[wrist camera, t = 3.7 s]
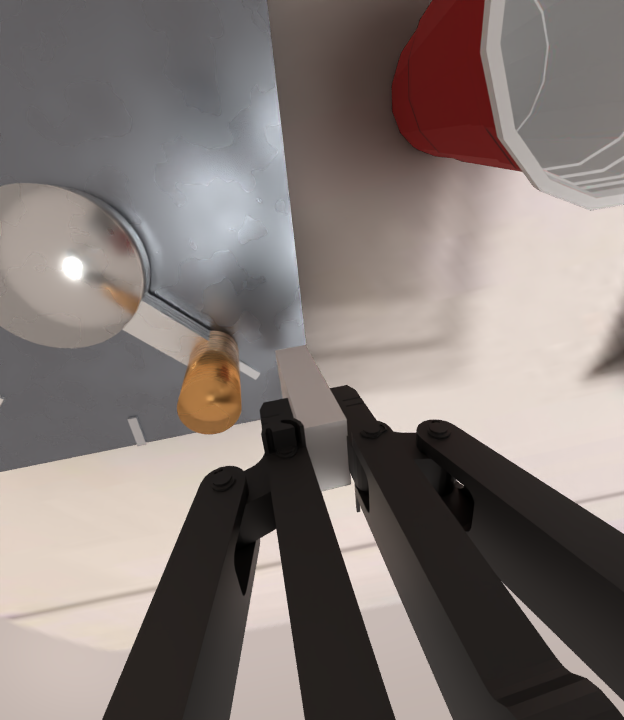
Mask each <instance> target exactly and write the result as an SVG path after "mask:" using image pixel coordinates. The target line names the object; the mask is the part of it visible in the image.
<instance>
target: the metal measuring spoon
mask: <svg viewBox="0 0 624 720" xmlns="http://www.w3.org/2000/svg"><path fill="white" fill-rule="evenodd" d="M149 286H150V265H149V261H148V256H147V254H146V251H145V248H144V246H143V244H142V242H141V240H140V238H139V236H138V235H137V233H136V232H135V230H134V229H133V228H132V226H131V225H130V224H129V223H128V222H127V220H126V219H125V218H124V217H123V216H122V215H121V214H119V213H118V212H117V211H116V210H115V209H113V208H112V207H111V206H110V205H108V204H107V203H105V202H103V201H102V200H100V199H99V198H96V197H94V196H92V195H90V194H88V193H86V192H83V191H80V190H77V189H73V188H69V187H64V186H54V185H45V184H35V183H15V184H9V185H3V186H0V326H1V327H2V328H4V329H5V330H7V331H9V332H11V333H13V334H14V335H16V336H18V337H21V338H23V339H25V340H28V341H30V342H34V343H37V344H40V345H44V346H49V347H56V348H82V347H87V346H92V345H96V344H98V343H101V342H104V341H106V340H108V339H110V338H112V337H113V336H114V335H116V334H117V333H119V332H120V331H121V330H124V331H126V332H127V333H129V334H131V335H133V336H135V337H136V338H138V339H140V340H142V341H144V342H145V343H147V344H149V345H151V346H152V347H154V348H156V349H158V350H160V351H161V352H163V353H165V354H167V355H169V356H170V357H172V358H174V359H176V360H177V361H179V362H181V363H183V364H185V365H186V366H187V369H186V373H185V377H184V381H183V384H182V388H181V392H180V396H179V399H178V403H177V413H178V416H179V418H180V420H181V421H182V423H183V424H184V425H185V426H186V427H188V428H189V429H191V430H192V431H195V432H197V433H201V434H217V433H220V432H223V431H225V430H227V429H229V428H230V427H232V426H233V425H234V424H235V423H236V422H237V420H238V419H239V417H240V414H241V408H242V405H241V386H240V366H239V349H238V345H237V343H236V341H235V340H234V339H233V338H232V337H231V336H230V335H228V334H227V333H224V332H221V331H209V330H208V329H206V328H204V327H203V326H201V325H200V324H198V323H196V322H195V321H193V320H192V319H190V318H188V317H187V316H185V315H184V314H182V313H180V312H179V311H177V310H176V309H174V308H172V307H171V306H169V305H168V304H166V303H164V302H163V301H161V300H160V299H158V298H156V297H155V296H153V295H151V294H150V293H148V291H149Z"/></svg>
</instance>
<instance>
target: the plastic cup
mask: <svg viewBox="0 0 624 720" xmlns="http://www.w3.org/2000/svg"><path fill="white" fill-rule="evenodd" d="M392 112H393V114H394V117H395V120H396V123H397V125H398V128H399V131H400V133H401V134H402V135H403V136H404V137H405V138H406V140H407V141H408V142H409V143H410V144H411V145H412V146H413V147H414V148H416V149H417V150H420V151H423V152H425V153H428V154H431V155H433V156H437V157H447V158H454V159H457V160H459V161H462V162H468V163H474V164H480V165H486V166H492V167H498V168H504V169H509V170H515V171H521V172H523V173H524V174H525V176H526V177H527V178H528V180H529V181H530V183H531V184H532V185H533V187H535V188H536V189H538V190H539V191H541V192H544V193H546V194H549V195H551V196H554V197H557V198H559V199H562V200H564V201H567V202H570V203H572V204H575V205H577V206H580V207H583V208H585V209H588V210H590V211H591V210H597V209H602V208H608V207H614V206H620V205H624V0H432V2H431V3H430V5H429V6H428V8H427V10H426V11H425V13H424V14H423V16H422V17H421V19H420V20H419V24H418V27H417V29H416V31H415V32H414V34H413V35H412V37H411V39H410V40H409V42H408V43H407V45H406V46H405V48H404V49H403V51H402V52H401V55H400V59H399V61H398V65H397V68H396V72H395V75H394V79H393V83H392Z"/></svg>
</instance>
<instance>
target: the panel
mask: <svg viewBox="0 0 624 720" xmlns="http://www.w3.org/2000/svg"><path fill="white" fill-rule="evenodd" d="M15 183H35V184H45V185H54V186H64V187H69V188H73V189H77V190H80V191H83V192H86V193H88V194H90V195H92V196H94V197H96V198H99V199H100V200H102V201H103V202H105V203H107V204H108V205H110V206H111V207H112V208H113V209H115V210H116V211H117V212H118V213H119V214H121V215H122V216H123V217H124V218H125V219H126V220H127V222H128V223H129V224H130V225H131V226H132V228H133V229H134V230H135V232H136V233H137V235H138V236H139V238H140V240H141V242H142V244H143V246H144V248H145V251H146V254H147V256H148V261H149V265H150V286H149V291H148V293H150V294H151V295H153V296H155V297H156V298H158V299H160V300H161V301H163V302H164V303H166V304H168V305H169V306H171V307H172V308H174V309H176V310H177V311H179V312H180V313H182V314H184V315H185V316H187V317H188V318H190V319H192V320H193V321H195V322H196V323H198V324H200V325H201V326H203V327H204V328H206V329H208V330H209V331H221V332H224V333H227V334H228V335H230V336H231V337H232V338H233V339H234V340H235V341H236V343H237V345H238V349H239V366H240V386H241V405H242V408H241V414H240V417H239V419H238V420H237V422H236V423H235V424H234V425H236V424H241V423H246V422H251V421H256V420H261V418H260V411H259V410H260V408H261V406H262V404H263V402H268V401H273V400H278V399H283V397H282V391H281V385H280V378H279V372H278V366H277V359H276V353H275V350H280V349H286V348H292V347H297V346H303V345H306V339H305V330H304V321H303V313H302V304H301V295H300V286H299V277H298V269H297V260H296V251H295V242H294V234H293V225H292V216H291V207H290V198H289V190H288V181H287V172H286V163H285V154H284V146H283V137H282V128H281V119H280V111H279V102H278V93H277V84H276V75H275V67H274V58H273V49H272V40H271V31H270V23H269V14H268V5H267V0H0V186H3V185H9V184H15ZM186 369H187V366H186V365H185V364H183V363H181V362H179V361H177V360H176V359H174V358H172V357H170V356H169V355H167V354H165V353H163V352H161V351H160V350H158V349H156V348H154V347H152V346H151V345H149V344H147V343H145V342H144V341H142V340H140V339H138V338H136V337H135V336H133V335H131V334H129V333H127V332H126V331H124V330H121V331H120V332H119V333H117V334H116V335H114V336H113V337H112V338H110V339H108V340H106V341H104V342H101V343H98V344H96V345H92V346H87V347H82V348H56V347H49V346H44V345H40V344H37V343H34V342H30V341H28V340H25V339H23V338H21V337H18V336H16V335H14V334H13V333H11V332H9V331H7V330H5V329H4V328H2V327H1V326H0V472H2V471H7V470H12V469H17V468H22V467H27V466H32V465H37V464H42V463H47V462H52V461H57V460H62V459H67V458H72V457H77V456H82V455H87V454H92V453H97V452H102V451H107V450H112V449H117V448H122V447H127V446H132V445H136V444H137V445H138V446H141V445H146V444H147V442H151V441H156V440H161V439H166V438H171V437H176V436H181V435H186V434H191V433H196V432H195V431H192V430H191V429H189V428H188V427H186V426H185V425H184V424H183V423H182V421H181V420H180V418H179V416H178V413H177V403H178V399H179V396H180V392H181V388H182V384H183V381H184V377H185V373H186Z"/></svg>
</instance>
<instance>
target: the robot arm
mask: <svg viewBox="0 0 624 720" xmlns="http://www.w3.org/2000/svg"><path fill="white" fill-rule="evenodd" d="M275 353H276V359H277V366H278V372H279V378H280V385H281V391H282V397H283V399H278V400H273V401H268V402H263V404H262V406H261V408H260V410H259V411H260V418H261V424H262V433H261V436H262V441H263V446H264V451H265V454H264V456H263V458H262V459H261V460H260V461H259V462H258V463H257V464H256V465H255V466H253V467H251V468H249V469H247V470H245V471H243V470H242V469H240V468H238V467H236V466H225V467H220V468H218V469H216V470H213V471H212V472H210V473H209V474H208V475H207V476H205V478H204V479H203V481H202V482H201V484H200V486H199V489H198V491H197V493H196V496H195V498H194V501H193V503H192V505H191V508H190V510H189V513H188V515H187V517H186V520H185V522H184V525H183V527H182V529H181V532H180V534H179V537H178V539H177V541H176V544H175V546H174V549H173V551H172V553H171V556H170V558H169V561H168V563H167V565H166V568H165V570H164V573H163V575H162V577H161V580H160V582H159V585H158V587H157V589H156V592H155V594H154V597H153V599H152V601H151V604H150V606H149V609H148V611H147V613H146V616H145V618H144V621H143V623H142V625H141V628H140V630H139V633H138V635H137V637H136V640H135V642H134V645H133V647H132V649H131V652H130V654H129V657H128V659H127V661H126V664H125V666H124V669H123V671H122V674H121V676H120V678H119V680H118V683H117V685H116V688H115V690H114V693H113V695H112V697H111V700H110V702H109V704H108V707H107V709H106V712H105V714H104V716H103V719H102V720H229V719H230V713H231V707H232V702H233V696H234V690H235V684H236V679H237V673H238V667H239V661H240V655H241V650H242V644H243V638H244V633H245V627H246V621H247V615H248V610H249V604H250V598H251V592H252V587H253V581H254V575H255V569H256V564H257V558H258V552H259V546H260V538H261V537H263V536H265V535H266V534H268V533H270V532H271V531H273V530H275V529H277V536H278V543H279V549H280V556H281V563H282V569H283V576H284V583H285V589H286V596H287V603H288V609H289V616H290V623H291V629H292V636H293V642H294V649H295V656H296V663H297V670H298V676H299V683H300V690H301V696H302V703H303V710H304V716H305V720H396V719H395V716H394V713H393V710H392V707H391V704H390V701H389V698H388V695H387V692H386V689H385V686H384V683H383V680H382V677H381V674H380V671H379V668H378V664H377V661H376V658H375V655H374V652H373V649H372V646H371V643H370V640H369V637H368V634H367V631H366V628H365V624H364V621H363V618H362V615H361V612H360V609H359V606H358V603H357V600H356V597H355V594H354V591H353V588H352V585H351V582H350V578H349V575H348V572H347V569H346V566H345V563H344V560H343V557H342V554H341V551H340V548H339V545H338V542H337V539H336V536H335V532H334V529H333V526H332V523H331V520H330V517H329V514H328V511H327V508H326V505H325V502H324V499H323V496H322V493H321V491H326V490H330V489H334V488H338V487H342V486H346V485H350V484H351V476H352V478H353V480H354V482H355V497H356V509H357V512H360V506H361V508H362V511H363V513H364V515H365V518H366V520H367V522H368V525H369V527H370V529H371V532H372V534H373V536H374V538H375V541H376V543H377V545H378V548H379V550H380V552H381V555H382V557H383V559H384V561H385V564H386V566H387V568H388V571H389V573H390V575H391V578H392V580H393V582H394V585H395V587H396V589H397V591H398V594H399V596H400V598H401V601H402V603H403V605H404V607H405V610H406V612H407V614H408V617H409V619H410V621H411V624H412V626H413V628H414V631H415V633H416V635H417V638H418V640H419V642H420V644H421V647H422V649H423V651H424V654H425V656H426V658H427V661H428V663H429V665H430V668H431V670H432V672H433V674H434V677H435V679H436V681H437V684H438V686H439V688H440V691H441V693H442V695H443V697H444V700H445V702H446V704H447V706H448V709H449V711H450V714H451V716H452V718H453V720H624V717H623V716H622V714H621V713H620V712H619V711H618V709H617V708H616V707H615V706H614V704H613V703H612V702H611V701H610V700H609V699H608V698H607V696H606V695H605V694H604V693H603V692H602V691H601V690H600V689H599V688H598V687H597V686H596V685H594V684H593V683H592V682H591V681H589V680H588V679H587V678H584V677H581V676H579V675H576V674H573V673H571V672H569V671H568V670H567V669H566V668H565V667H564V666H562V664H561V663H560V662H559V660H558V659H557V658H556V657H555V655H554V654H553V652H552V651H551V650H550V648H549V647H548V646H547V645H546V643H545V642H544V640H543V639H542V637H541V636H540V634H539V633H538V632H537V630H536V629H535V628H534V626H533V625H532V623H531V622H530V621H529V619H528V618H527V617H526V615H525V614H524V612H523V611H522V610H521V608H520V607H519V605H518V604H517V603H516V601H515V600H514V599H513V597H512V596H511V594H510V593H509V591H508V590H507V589H506V587H505V586H504V585H503V583H504V584H505V585H506V586H507V587H508V588H509V589H510V590H511V591H512V592H513V593H514V594H515V595H516V596H517V597H518V598H519V599H520V600H521V601H522V602H523V603H524V604H525V605H526V606H527V607H528V608H529V609H530V610H531V611H532V612H533V613H534V614H535V615H536V616H537V617H539V619H541V621H543V622H544V623H545V624H546V625H547V626H548V627H549V628H550V629H551V630H552V631H553V632H554V633H555V634H556V635H557V636H558V637H559V638H560V639H561V640H562V641H563V642H564V643H565V644H566V645H567V646H568V647H569V648H570V649H571V650H572V651H573V652H574V653H575V654H576V655H577V656H578V657H579V658H580V659H581V660H582V661H584V663H586V665H587V666H588V667H589V668H590V669H592V671H594V673H596V674H597V675H598V676H599V677H600V678H601V679H602V680H603V681H604V682H605V683H606V684H607V685H608V686H609V687H610V688H611V689H612V690H613V691H614V692H615V693H616V694H617V695H618V696H619V697H620V698H621V699H622V700H623V701H624V534H623V533H621V532H620V531H618V530H617V529H615V528H614V527H612V526H611V525H609V524H607V523H606V522H604V521H603V520H601V519H600V518H598V517H597V516H595V515H593V514H592V513H590V512H589V511H587V510H586V509H584V508H583V507H581V506H579V505H578V504H576V503H575V502H573V501H572V500H570V499H568V498H567V497H565V496H564V495H562V494H561V493H559V492H558V491H556V490H554V489H553V488H551V487H550V486H548V485H547V484H545V483H544V482H542V481H540V480H539V479H537V478H536V477H534V476H533V475H531V474H530V473H528V472H526V471H525V470H523V469H522V468H520V467H519V466H517V465H516V464H514V463H512V462H511V461H509V460H508V459H506V458H505V457H503V456H502V455H500V454H498V453H497V452H495V451H494V450H492V449H491V448H489V447H488V446H486V445H484V444H483V443H481V442H480V441H478V440H477V439H475V438H474V437H472V436H470V435H469V434H467V433H466V432H464V431H463V430H461V429H460V428H458V427H456V426H455V425H453V424H451V423H449V422H447V421H442V420H427V421H424V422H422V423H421V424H419V425H418V427H417V432H416V433H400V432H393V431H392V429H391V428H390V427H389V426H388V425H387V424H385V423H383V422H380V421H377V420H376V419H375V418H374V416H373V415H372V413H371V412H370V410H369V409H368V407H367V406H366V404H365V403H364V402H363V400H362V399H361V398H360V396H359V394H358V393H357V391H356V390H355V389H353V388H351V387H349V386H348V385H345V386H340V387H335V388H329V386H328V385H327V383H326V381H325V379H324V377H323V375H322V374H321V372H320V370H319V368H318V366H317V365H316V363H315V361H314V359H313V357H312V356H311V354H310V352H309V350H308V348H307V346H306V345H303V346H297V347H292V348H286V349H280V350H275ZM350 473H351V476H350ZM456 480H458V481H459V482H460V483H461V484H463V485H464V486H463V485H461V484H460V483H459V482H457V481H456ZM501 581H502V582H503V583H502V582H501Z"/></svg>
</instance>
